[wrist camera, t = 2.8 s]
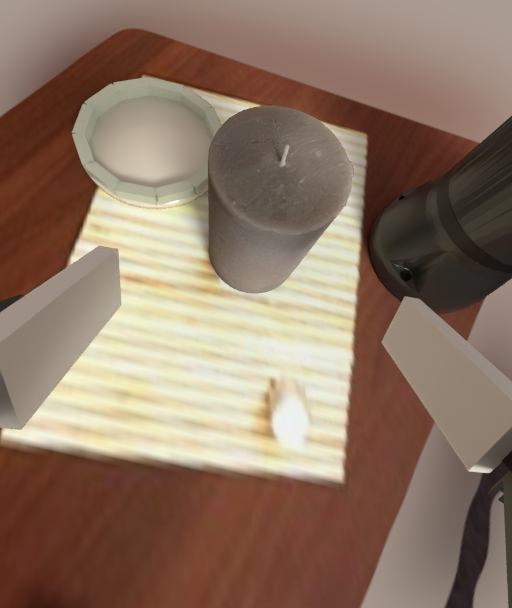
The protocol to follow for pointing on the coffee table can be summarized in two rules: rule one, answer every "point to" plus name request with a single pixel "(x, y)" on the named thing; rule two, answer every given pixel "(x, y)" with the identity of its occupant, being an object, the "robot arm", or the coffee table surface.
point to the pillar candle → (271, 193)
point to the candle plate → (147, 142)
